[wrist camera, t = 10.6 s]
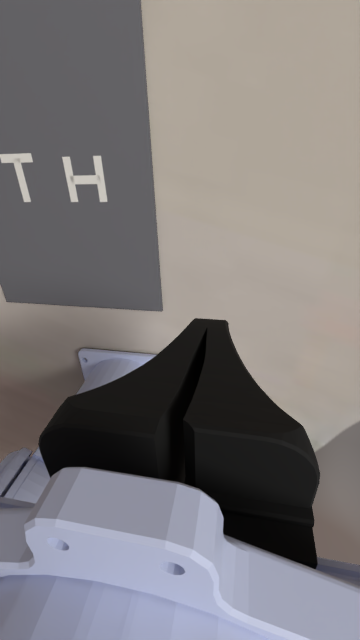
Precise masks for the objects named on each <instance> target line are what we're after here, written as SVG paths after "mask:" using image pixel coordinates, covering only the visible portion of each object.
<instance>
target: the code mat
mask: <svg viewBox="0 0 360 640" xmlns="http://www.w3.org/2000/svg"><path fill="white" fill-rule="evenodd" d="M0 284H1V286H2V289H3V292H4V295H5V298H6V301H7V302H19V303H35V304H51V305H67V306H83V307H99V308H115V309H131V310H147V311H163V307H162V293H161V279H160V265H159V251H158V237H157V223H156V209H155V195H154V181H153V167H152V153H151V139H150V125H149V111H148V97H147V83H146V70H145V56H144V42H143V28H142V14H141V0H0Z"/></svg>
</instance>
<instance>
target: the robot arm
mask: <svg viewBox="0 0 360 640" xmlns="http://www.w3.org/2000/svg"><path fill="white" fill-rule="evenodd" d="M78 356H79V360H80V364H81V368H82V372H83V376H84V380H85V382H84V383H83V385H82V386H81V388H80V389H79V391H78V392H77V394H76V395H74V396H70V397H68V398H67V399H66V400H65V401H64V403H63V404H62V405H61V406H60V408H59V409H58V410H57V412H56V413H55V415H54V416H53V418H52V419H51V421H50V422H49V424H48V425H47V427H46V428H45V429H44V431H43V432H42V434H41V435H40V438H39V443H38V444H39V447H38V448H37V450H36V451H35V453H34V454H33V456H32V457H30V455H31V453H32V451H31V450H29V449H27V448H25V447H24V448H22V449H20V450H19V451H14V452H11V453H9V454H8V455H7V456H6V457H5V458H4V459H3V460H2V462H1V463H0V640H360V565H357V564H352V563H346V562H341V561H336V560H330V559H325V558H320V557H317V555H316V549H315V542H314V536H313V530H312V527H313V526H314V516H313V511H312V504H313V501H314V498H315V495H316V491H317V488H318V485H319V479H320V472H319V467H318V463H317V459H316V456H315V453H314V450H313V448H312V445H311V443H310V440H309V438H308V436H307V433H306V431H305V429H304V427H303V426H302V425H301V424H300V423H298V422H297V421H296V420H294V419H293V418H292V417H291V416H289V415H288V414H287V413H285V412H284V411H283V410H282V409H281V408H279V407H278V406H277V405H276V404H275V403H274V402H273V401H272V400H271V399H270V398H269V397H268V396H267V395H266V393H265V392H264V391H263V390H262V389H261V388H260V387H259V386H258V384H257V383H256V382H255V380H254V379H253V378H252V376H251V375H250V373H249V372H248V371H247V369H246V367H245V366H244V364H243V362H242V360H241V359H240V357H239V355H238V353H237V351H236V349H235V346H234V344H233V341H232V339H231V336H230V332H229V328H228V322H227V321H226V320H213V319H198V318H195V319H194V320H193V321H192V322H191V323H190V324H189V325H188V326H187V327H186V328H185V329H184V330H183V331H182V332H181V334H180V335H179V336H178V337H176V338H175V339H174V340H173V341H172V342H171V343H170V344H169V345H168V346H167V347H166V348H165V349H163V350H162V351H161V352H160V353H159V354H157V355H154V354H143V353H131V352H120V351H109V350H98V349H86V348H82V349H81V350H80V351H79V352H78ZM84 358H86V359H87V360H86V359H84ZM24 466H25V467H24Z"/></svg>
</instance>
